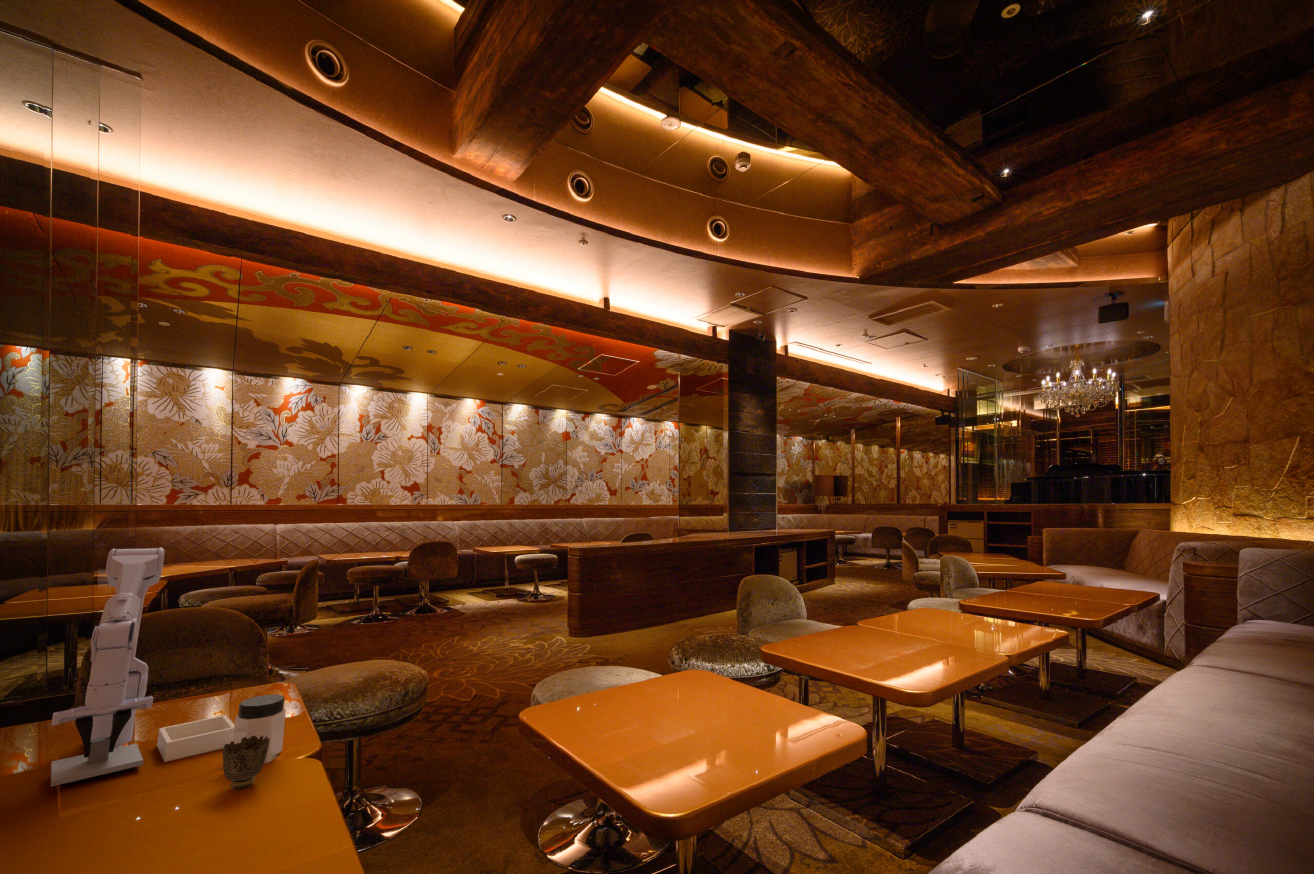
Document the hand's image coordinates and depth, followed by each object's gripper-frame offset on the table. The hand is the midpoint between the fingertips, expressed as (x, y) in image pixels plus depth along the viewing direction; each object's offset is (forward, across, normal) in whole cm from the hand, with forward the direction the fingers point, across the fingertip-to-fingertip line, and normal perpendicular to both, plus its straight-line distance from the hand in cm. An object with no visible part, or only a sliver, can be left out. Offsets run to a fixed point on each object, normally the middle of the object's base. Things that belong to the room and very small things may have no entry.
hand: (98, 753), depth 113 cm
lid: (+2, 0, 0) cm, 2 cm away
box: (+4, +16, +2) cm, 17 cm away
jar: (+4, +24, -14) cm, 28 cm away
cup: (+4, +19, -27) cm, 33 cm away
